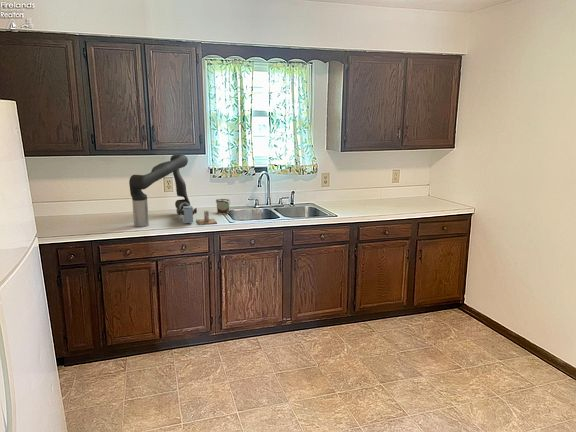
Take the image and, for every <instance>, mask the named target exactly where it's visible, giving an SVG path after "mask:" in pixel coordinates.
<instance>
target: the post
mask: <svg viewBox="0 0 576 432" xmlns="http://www.w3.org/2000/svg"><path fill="white" fill-rule="evenodd" d="M203 211H204V212H203V216H204V217H203V219H202V218H201V219H195V220H196V222H197V224H198V225H199V226H200V225H201V226H204V225H217V224H218V222H217V221H216V219H215V218H209V217H210V216H209V210H203Z"/></svg>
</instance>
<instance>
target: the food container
mask: <svg viewBox="0 0 576 432" xmlns="http://www.w3.org/2000/svg"><path fill="white" fill-rule="evenodd" d="M215 203H216V211H217V213H218V214H222V213H225V214H224V215H229V213H230V204H231V200H230V199H228V198H218V199H217V198H216V200H215Z"/></svg>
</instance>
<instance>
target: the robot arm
mask: <svg viewBox="0 0 576 432" xmlns="http://www.w3.org/2000/svg"><path fill="white" fill-rule="evenodd" d="M188 161H189V160H188V156H187V155H185V154H182V155H179V154H172V155H171V156H170V160H168V161H163V162H161V163H159V164H157V165H155V166H153V167H152V169H151V171H150V172H149V173H147V174H146V173H145V174H132V175H130V177H129V181H128V182H129V183H128V184H129V192H130V197H131V200H132V214H133V215H132V216H133V217H132V218H133V227H134V228H143V227H148V226H149V207H148V205H149V204H148V195H147V194H146V193H144V192H143V190H147V188H149V187H150V186H152V185H153V184H154V183H156V182H158V181H159V180H162V179H163V178H166V177H167V176H169V175H170V174H173V178H174V181H175V182H174V183H175V189H176V196H177V197H182V199H178V200H177V199H176V201H175V203H174V205H175V208H176V214H177V215H181V216H183V215H184V211H183V206H191V201H190V199H189V197H188V194H187V185H186V182H185V180H184V178H183V176H182V175H181V173H180V169H182V168H184V167H186V166H187V165H188ZM197 212H198V210H197V207H195V208H193V216H194V215H195V214H197Z"/></svg>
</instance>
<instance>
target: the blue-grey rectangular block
mask: <svg viewBox="0 0 576 432" xmlns="http://www.w3.org/2000/svg"><path fill="white" fill-rule="evenodd" d="M193 209H194V208H193V205H190V206H183V211H184V215H182V217H183V218H182V219H183V222H184V223H185V224H186V223H187V224H188V223H194V215H193Z"/></svg>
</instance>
